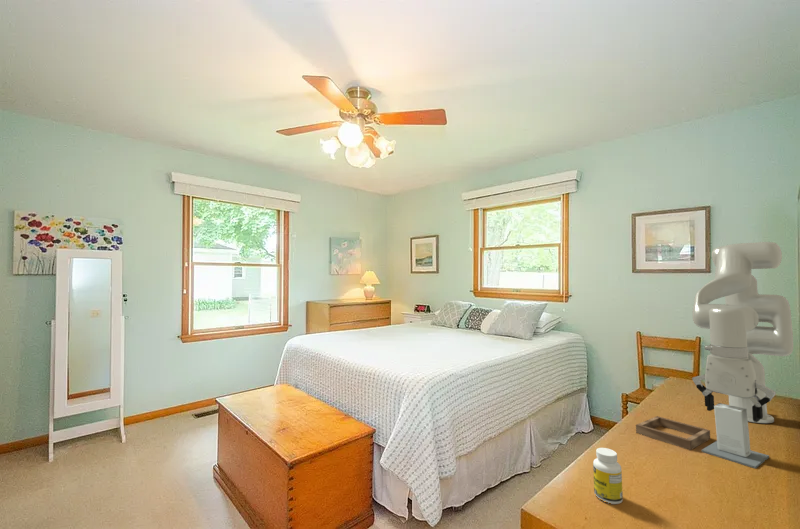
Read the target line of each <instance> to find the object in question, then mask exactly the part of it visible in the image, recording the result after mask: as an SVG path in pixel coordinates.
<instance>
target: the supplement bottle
mask: <svg viewBox="0 0 800 529" xmlns="http://www.w3.org/2000/svg"><path fill="white" fill-rule="evenodd" d="M595 454H596V458H595V459H593V463H592V466H593V467H592V469H593V489H594V491H593V492H594V495H595V494H596V496H597V497H598V498H600V499H602V500H603V501H606V502H608V503H607V504H609V503H611V504H610V505H619V504H622V502H623V500H624V497H623V476H622V466H621V464H620V463H619V462H618V453H617V452H616V451H615V450H613V449H610V448H608V447H598V448H596V451H595ZM596 496H595V497H596ZM597 497H596V498H597ZM598 498H597V499H598ZM600 499H599V500H600ZM603 501H602V502H603Z"/></svg>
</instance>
